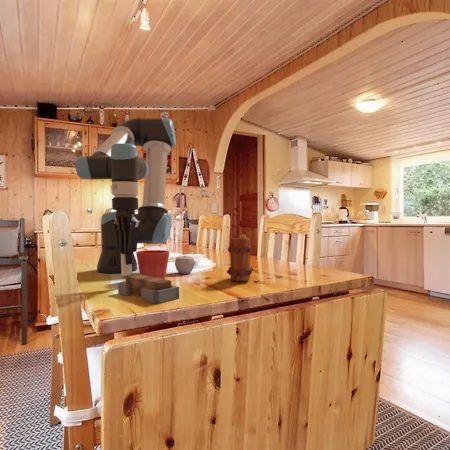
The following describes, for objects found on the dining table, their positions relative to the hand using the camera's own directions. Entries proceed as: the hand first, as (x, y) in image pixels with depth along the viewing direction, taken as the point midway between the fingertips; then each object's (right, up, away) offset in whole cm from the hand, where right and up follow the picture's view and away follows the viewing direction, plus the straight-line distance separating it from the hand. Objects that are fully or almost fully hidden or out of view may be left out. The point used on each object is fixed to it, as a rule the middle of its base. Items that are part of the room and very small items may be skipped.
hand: (126, 274), depth 101 cm
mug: (+35, -4, +12) cm, 38 cm away
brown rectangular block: (+9, -4, -10) cm, 14 cm away
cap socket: (+13, -4, -15) cm, 20 cm away
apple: (+15, -3, +24) cm, 28 cm away
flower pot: (+6, -4, +10) cm, 12 cm away
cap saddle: (+4, -4, -7) cm, 9 cm away
